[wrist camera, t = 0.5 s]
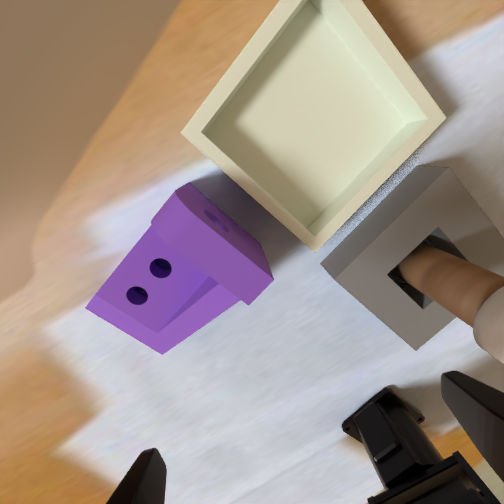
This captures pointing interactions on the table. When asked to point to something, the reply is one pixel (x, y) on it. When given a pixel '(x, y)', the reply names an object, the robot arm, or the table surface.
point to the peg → (460, 292)
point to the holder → (406, 240)
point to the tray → (314, 115)
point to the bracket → (182, 273)
